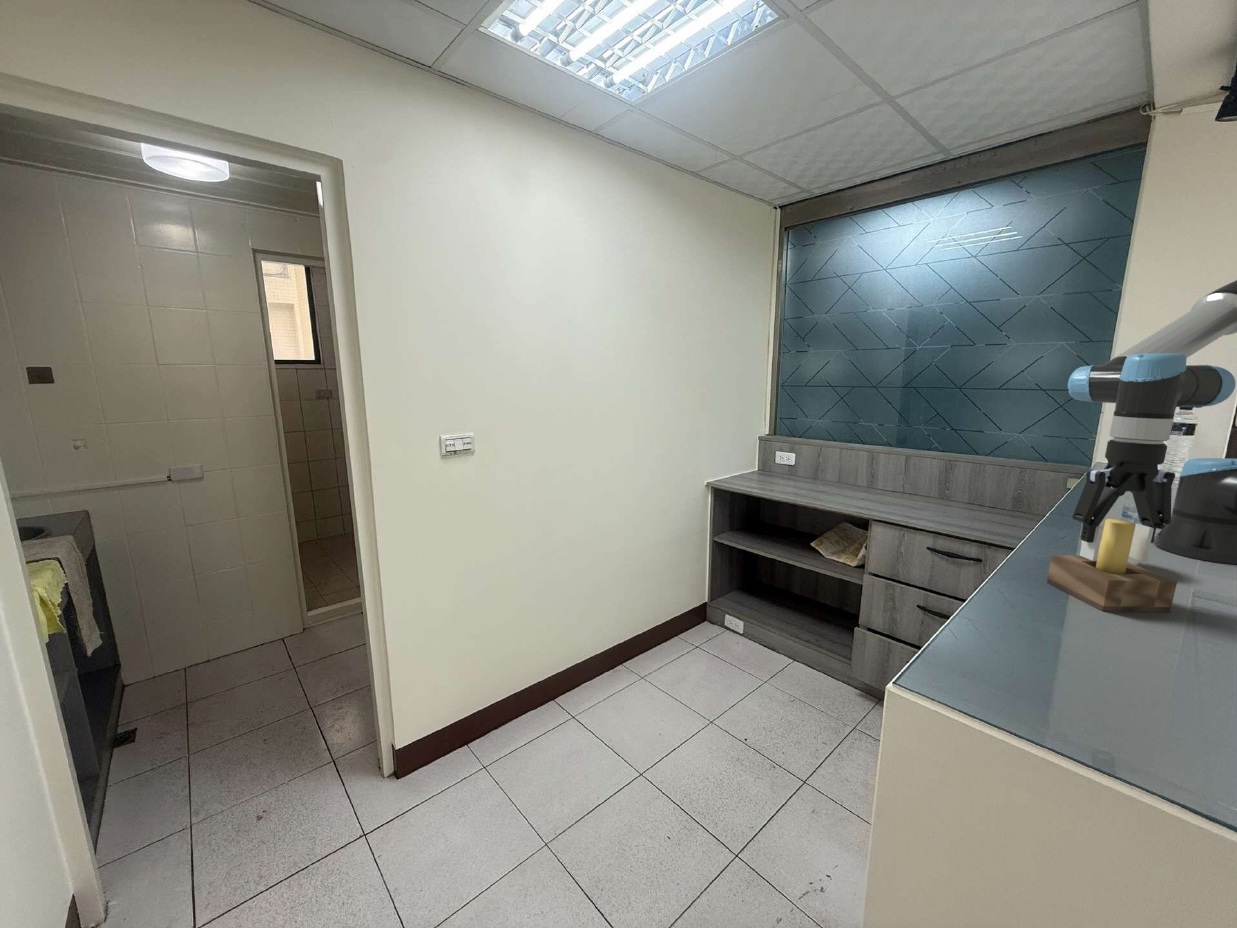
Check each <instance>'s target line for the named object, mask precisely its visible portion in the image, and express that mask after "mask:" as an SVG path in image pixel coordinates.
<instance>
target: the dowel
mask: <svg viewBox="0 0 1237 928" xmlns="http://www.w3.org/2000/svg"><path fill="white" fill-rule="evenodd" d="M1136 524H1137V523H1134V522H1133V521H1132V522H1131V521H1129V520H1128V521H1127V520H1122V519H1115V518H1105V521H1104V525H1103V526H1104V530H1103V534H1102V539H1101V544H1100V549H1099V553H1098V558H1097V563H1096V568H1098V569H1100V570H1102V571H1105V572H1107V573H1109V574H1125V571H1126V567H1127V562H1128V558H1129V553H1130V549H1131V544H1132V540H1133V535H1134V531H1135V526H1136Z"/></svg>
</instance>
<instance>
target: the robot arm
mask: <svg viewBox="0 0 1237 928" xmlns="http://www.w3.org/2000/svg"><path fill="white" fill-rule="evenodd" d="M1234 334H1237V279H1236V280H1234V281H1232V282H1229V283H1227V284H1225V285H1223V286H1221V287H1219V288H1216V289H1215V290H1214V291H1212V292H1210V293H1208V294H1206V295H1205V296H1203V297H1202V298H1200V299H1198V300H1197V301H1196V302H1195V303H1194V304H1193V305H1192V307H1191V309H1190V311H1188V312H1187V313H1185V314H1183V315H1182V316H1180V317H1179V318H1177V319H1175V320H1174V321H1171V322H1170V323H1169V324H1167V325H1165V326H1163V327H1162V328H1160V329H1158V330H1157V331H1155V332H1153V334H1151V335H1149V336H1147V337H1145V338H1144V339H1142V340H1141V341H1139V342H1137V343H1136V344H1135V345H1133V346H1131V347H1130V348H1128V349H1126V350H1124V351H1123V352H1122V353H1119V354H1118V355H1116V356H1115V357H1114V358H1112V359H1110V360H1109V361H1107V362H1104V363H1103V364H1102V365H1096V364H1091V365H1084V366H1080V367H1077V368H1076V369H1075V370H1074V371H1073V372H1072V373H1071V375H1070V376H1069V377H1068V382H1067V389H1068V393H1069V396H1070V397H1071V398H1072V399H1074V400H1076V401H1082V402H1090V403H1106V404H1115V407H1114V410H1113V415H1112V419H1111V425H1110V428H1109V429H1110V431H1109V434H1108V436H1109V437H1111V438H1113V439H1109V440H1107V442H1106V448H1105V449H1106V450H1105V453H1104V458H1105V459H1106V460H1107V463H1106V466H1105V467H1104V468H1103V469H1098V470H1096V469H1095V470H1094V469H1088V470H1087V471H1086V478H1085V479H1086V480H1085V483H1084V486H1083V489H1082V491H1081V494H1080V497H1079V499H1078V502H1077V504H1076V506H1075V509H1074V511H1073V514H1072V516H1071V517H1072V520H1074V521H1078V522H1080V523H1081V524H1082V529H1081V533H1080V540H1083V541H1082V545H1081V547H1080V552H1079V556H1082V557H1085V558H1087V559H1090V560H1092V561H1097V557H1098V552H1099V547H1100V543H1101V538H1102V533H1103V527H1100V526H1099V525H1101V524H1102V522H1103V520H1104V519H1105V518H1106V516H1107V515H1108V513H1109V512H1110V511H1111V509H1112V507H1113V506H1114V505H1115V503H1117V501H1118V499H1119V497H1122V496H1124V495H1125V494H1126V492H1130V493H1131V494H1132V497H1133V501H1134V504H1135V508H1136V511H1137V514H1138V515H1137V516H1138V519H1139V523H1135V524H1136V526H1135V531H1134V535H1133V540H1132V544H1131V549H1130V553H1129V557H1132V558H1134V559H1137V560H1140V561H1141V562H1147V561H1148V557H1149V551H1150V547H1151V544H1154V545H1155V547H1157V548H1160V549H1162V550H1164V551H1166V552H1169V553H1172V554H1175V555H1180V556H1183V557H1189V558H1193V559H1196V560H1201V561H1203V560H1204V561H1207V562H1214V563H1221V564H1232V565H1233V564H1234V565H1237V458H1229V457H1228V458H1226V457H1224V458H1222V457H1220V458H1219V457H1218V458H1217V457H1216V458H1214V457H1213V458H1211V457H1209V458H1208V457H1205V458H1204V457H1202V458H1201V457H1200V458H1191V459H1188V460H1186V461H1185V462H1184V463H1183V466H1182V470H1181V471H1180V474H1179V475H1178V478H1179V479H1178V484H1177V489H1176V491H1175V497H1174V503H1173V507H1172V485H1173V483H1174V481H1175V477H1176V474H1175V473H1174V472H1172V471H1165V470H1161V469H1159V465H1162V464H1164V462H1165V458H1166V454H1167V450H1168V445H1167V444H1166V443H1164V442H1166V441H1169V440H1170V438H1171V434H1172V428H1173V423H1174V417H1175V413H1176V409H1177V408H1197V409H1201V408H1203V407H1211V406H1215V405H1219V404H1220V403H1223V402H1224V401H1226V400H1227V399H1228V398H1230V397H1231V395H1232V394H1233V393H1234V391H1235V389H1236V379H1235V376H1234V375H1233V373H1232V372H1230V371H1229V370H1227V369H1226V368H1224V367H1220V366H1216V365H1211V364H1197V365H1194V364H1193V365H1191V364H1189V365H1187V359H1188V358H1189V357H1191V356H1193V355H1195V354H1196V353H1198V352H1199V351H1201V350H1202V349H1204V348H1205V347H1207V346H1209V345H1210V344H1212V343H1213V342H1215V341H1216V340H1218V339H1220V338H1221V337H1223V336H1228V335H1229V336H1230V335H1234ZM1157 529H1158V530H1160V531H1159V532H1158V533H1157V534H1156V532H1157V531H1156V530H1157ZM1153 542H1154V543H1153Z"/></svg>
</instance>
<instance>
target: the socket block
mask: <svg viewBox="0 0 1237 928" xmlns="http://www.w3.org/2000/svg"><path fill="white" fill-rule="evenodd" d="M1097 558H1098V557H1097ZM1096 563H1097V561H1092V560H1090V559H1087V558H1085V557H1082V556H1080V555H1067V554H1066V555H1061V554H1059V555H1057V554H1055V555H1051V558H1050V563H1049V569H1048V575H1047V581H1046V584H1048V585H1050V586H1052V587H1054V588H1056V589H1058V590H1060V591H1062V592H1064V593H1066V594H1067V595H1070V596H1072V597H1074V598H1075V599H1077V600H1080V601H1082V602H1084V603H1086V604H1088V605H1089V606H1092V607H1093V608H1096V609H1097V610H1099V611H1101V612H1133V613H1134V612H1136V613H1171V611H1172V610H1171V609H1172V605H1173V601H1174V596H1175V593H1176V588H1177V585H1178V581H1177V580H1174V579H1172V578H1170V577H1167V576H1164V575H1162V574H1160V573H1156V572H1154V571H1152V570H1150V569H1146V568H1144V567H1142V566H1139V565H1134V564H1131V563H1129V562H1127V567H1126V571H1125V574H1109V573H1107V572H1105V571H1102V570H1100V569H1098V568H1096Z"/></svg>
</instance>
